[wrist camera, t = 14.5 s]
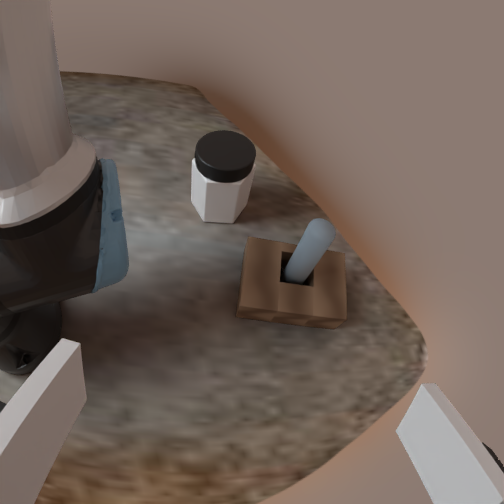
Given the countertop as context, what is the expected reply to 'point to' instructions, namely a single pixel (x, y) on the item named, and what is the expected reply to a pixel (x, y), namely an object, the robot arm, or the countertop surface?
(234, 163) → the jar
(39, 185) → the robot arm
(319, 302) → the hole block
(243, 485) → the countertop surface
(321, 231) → the peg
